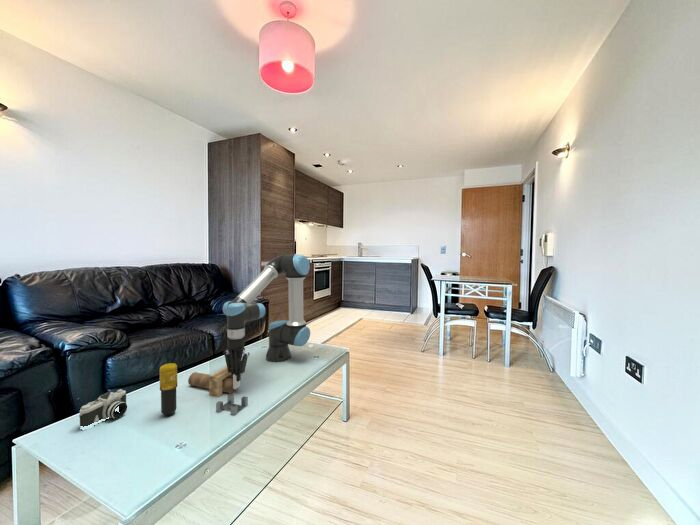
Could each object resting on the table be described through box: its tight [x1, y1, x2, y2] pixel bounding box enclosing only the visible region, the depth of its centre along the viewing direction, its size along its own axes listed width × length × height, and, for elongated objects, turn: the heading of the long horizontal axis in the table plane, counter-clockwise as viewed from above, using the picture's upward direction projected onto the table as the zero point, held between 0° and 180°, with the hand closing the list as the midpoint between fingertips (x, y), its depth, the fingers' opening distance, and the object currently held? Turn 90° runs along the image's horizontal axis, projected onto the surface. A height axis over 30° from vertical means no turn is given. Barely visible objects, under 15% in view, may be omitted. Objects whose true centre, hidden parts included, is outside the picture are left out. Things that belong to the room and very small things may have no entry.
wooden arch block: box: [208, 366, 232, 398], centre depth 131 cm, size 5×12×9 cm, turn 163°
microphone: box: [159, 362, 178, 418], centre depth 111 cm, size 6×13×20 cm, turn 84°
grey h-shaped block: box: [215, 393, 249, 416], centre depth 115 cm, size 8×9×4 cm
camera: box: [78, 388, 128, 427], centre depth 107 cm, size 16×9×10 cm, turn 167°
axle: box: [187, 371, 238, 394], centre depth 132 cm, size 24×6×6 cm, turn 73°
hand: (236, 387), depth 129 cm, fingers closed
